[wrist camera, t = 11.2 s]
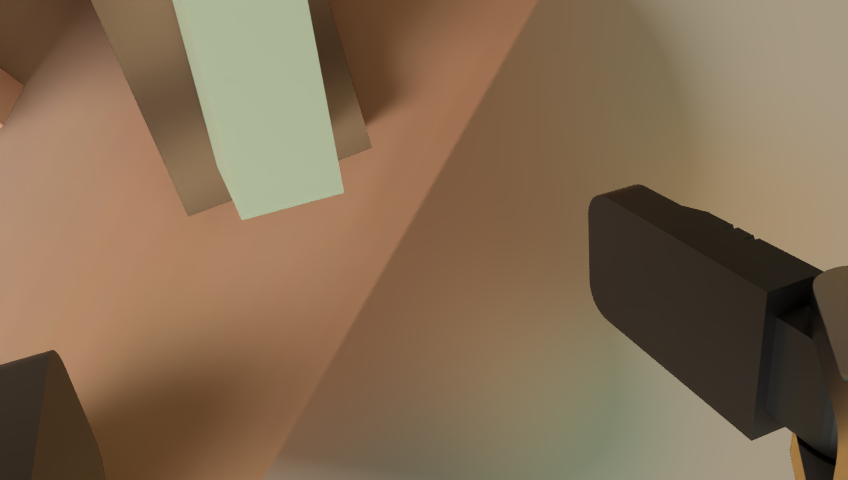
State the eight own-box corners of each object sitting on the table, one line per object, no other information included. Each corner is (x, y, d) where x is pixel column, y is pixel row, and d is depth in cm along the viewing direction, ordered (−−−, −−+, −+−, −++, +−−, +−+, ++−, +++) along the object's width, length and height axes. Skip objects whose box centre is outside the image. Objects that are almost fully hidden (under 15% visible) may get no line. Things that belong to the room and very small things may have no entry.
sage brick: (167, -19, 26) (183, -2, 21) (264, -36, 27) (303, -23, 22) (216, 166, 29) (242, 220, 24) (302, 145, 30) (344, 192, 25)
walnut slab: (77, -45, 27) (72, -41, 25) (281, -104, 29) (296, -105, 26) (182, 192, 32) (188, 216, 29) (352, 129, 34) (372, 147, 31)
